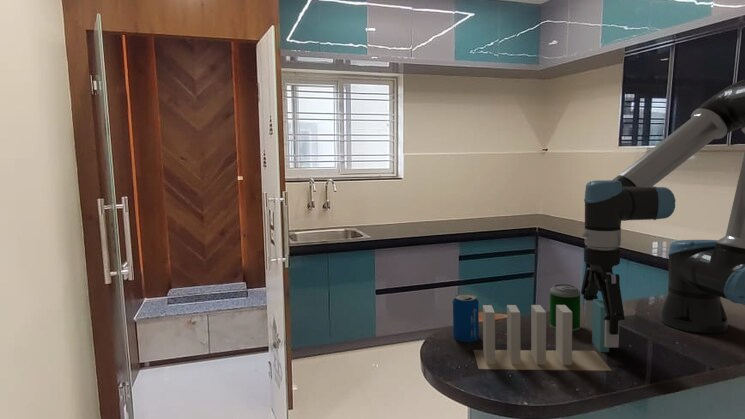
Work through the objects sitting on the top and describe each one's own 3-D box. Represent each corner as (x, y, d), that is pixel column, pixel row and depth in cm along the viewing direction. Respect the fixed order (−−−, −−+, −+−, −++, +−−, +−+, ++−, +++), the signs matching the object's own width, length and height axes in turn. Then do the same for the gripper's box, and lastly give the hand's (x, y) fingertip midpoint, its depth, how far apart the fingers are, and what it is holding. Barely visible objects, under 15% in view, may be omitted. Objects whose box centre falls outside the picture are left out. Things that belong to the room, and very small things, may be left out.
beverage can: (464, 348, 114) (463, 302, 112) (448, 340, 119) (447, 295, 118) (484, 342, 116) (483, 297, 115) (468, 334, 122) (467, 291, 121)
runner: (594, 355, 107) (594, 350, 107) (612, 375, 97) (612, 370, 97) (473, 354, 110) (473, 349, 110) (478, 374, 100) (478, 368, 100)
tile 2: (564, 355, 105) (565, 304, 104) (571, 364, 100) (572, 312, 99) (555, 354, 105) (556, 304, 104) (562, 364, 100) (562, 312, 99)
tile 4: (516, 354, 106) (515, 305, 105) (520, 364, 101) (520, 312, 100) (507, 354, 106) (506, 305, 105) (511, 364, 101) (510, 312, 100)
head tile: (600, 347, 111) (601, 300, 109) (608, 356, 106) (609, 307, 104) (592, 347, 111) (592, 300, 110) (599, 356, 106) (600, 307, 105)
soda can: (583, 336, 118) (583, 291, 117) (552, 334, 120) (552, 290, 118) (576, 325, 126) (576, 283, 124) (547, 324, 127) (547, 282, 126)
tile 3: (540, 354, 106) (540, 304, 104) (546, 364, 101) (546, 312, 99) (531, 354, 106) (531, 304, 104) (536, 364, 101) (536, 312, 99)
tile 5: (491, 354, 107) (491, 305, 105) (495, 364, 102) (494, 312, 100) (483, 354, 107) (482, 305, 106) (486, 363, 102) (485, 312, 101)
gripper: (568, 237, 118) (567, 317, 120) (606, 258, 94) (604, 357, 96) (598, 237, 117) (597, 317, 120) (644, 258, 93) (641, 358, 95)
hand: (600, 335), depth 108 cm, fingers open, 12 cm apart
